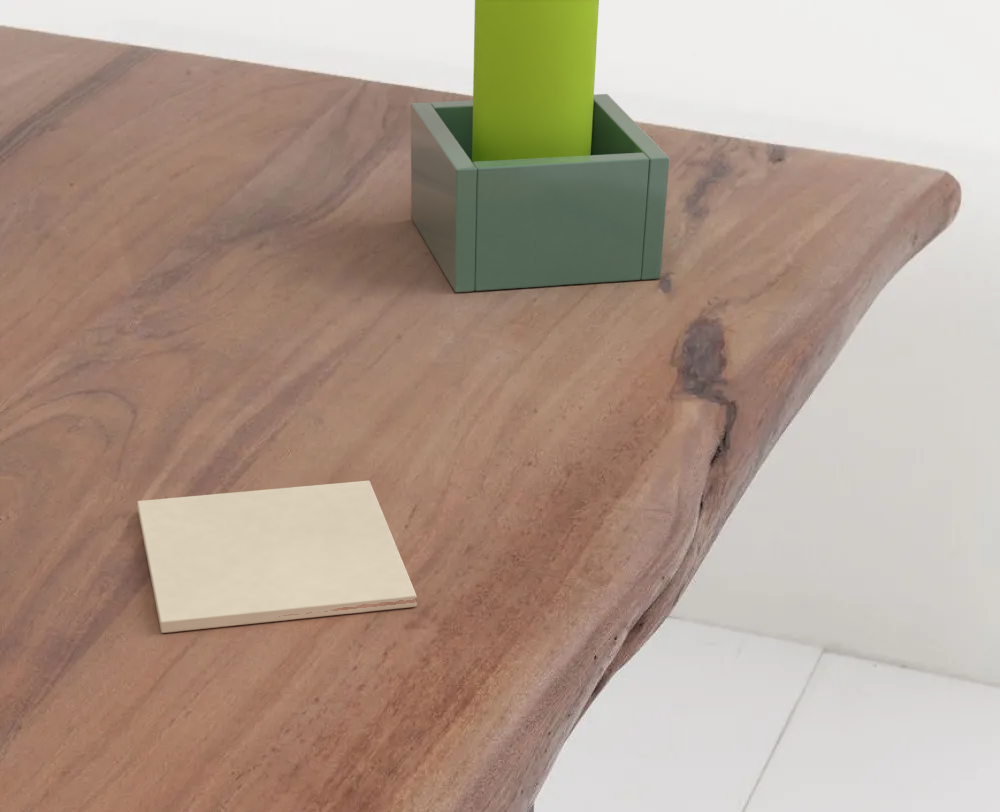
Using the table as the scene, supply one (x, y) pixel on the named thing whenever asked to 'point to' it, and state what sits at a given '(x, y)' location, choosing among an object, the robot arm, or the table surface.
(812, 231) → the table surface
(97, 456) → the table surface
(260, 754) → the table surface
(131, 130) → the table surface
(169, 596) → the mat
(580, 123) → the soap dispenser
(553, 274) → the holder
